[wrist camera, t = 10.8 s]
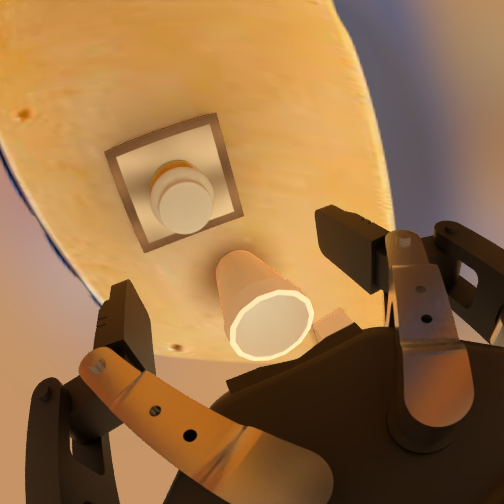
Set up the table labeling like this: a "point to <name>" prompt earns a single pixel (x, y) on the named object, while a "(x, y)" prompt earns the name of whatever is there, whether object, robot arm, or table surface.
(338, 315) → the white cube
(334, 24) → the table surface
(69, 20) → the table surface
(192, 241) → the table surface
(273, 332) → the foam cup
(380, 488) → the robot arm
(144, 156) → the base slab
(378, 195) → the table surface
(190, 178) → the supplement bottle
